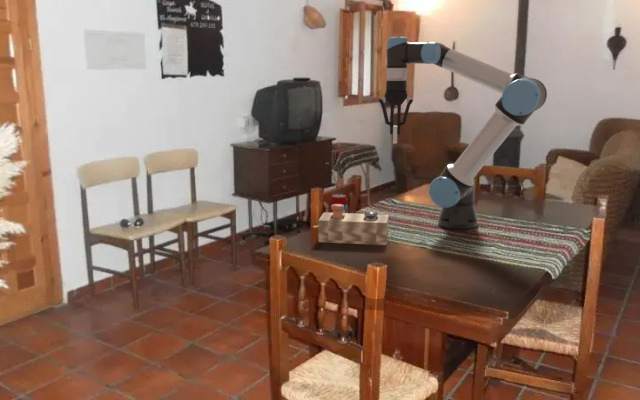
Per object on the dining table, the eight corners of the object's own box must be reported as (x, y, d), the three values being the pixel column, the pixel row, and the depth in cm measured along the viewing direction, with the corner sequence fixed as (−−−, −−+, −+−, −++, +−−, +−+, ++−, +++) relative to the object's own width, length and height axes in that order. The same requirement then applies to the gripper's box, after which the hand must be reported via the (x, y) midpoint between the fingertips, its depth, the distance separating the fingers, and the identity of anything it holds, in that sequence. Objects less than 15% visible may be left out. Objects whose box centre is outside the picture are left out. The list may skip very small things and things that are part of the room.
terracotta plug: (344, 226, 221) (344, 204, 219) (343, 229, 217) (343, 207, 215) (332, 225, 222) (332, 203, 220) (330, 228, 217) (330, 206, 216)
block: (388, 235, 223) (388, 214, 221) (386, 245, 211) (386, 223, 210) (323, 233, 227) (323, 212, 225) (318, 242, 215) (318, 220, 214)
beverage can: (346, 227, 234) (346, 197, 231) (328, 227, 235) (328, 196, 232) (348, 223, 240) (348, 193, 238) (332, 222, 242) (332, 193, 239)
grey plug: (377, 233, 219) (377, 211, 218) (376, 236, 215) (376, 214, 213) (364, 232, 220) (365, 210, 218) (363, 236, 216) (363, 213, 214)
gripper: (414, 79, 227) (412, 142, 233) (379, 79, 229) (378, 141, 235) (414, 80, 220) (412, 144, 225) (378, 80, 222) (377, 144, 227)
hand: (394, 143), depth 230 cm, fingers closed
